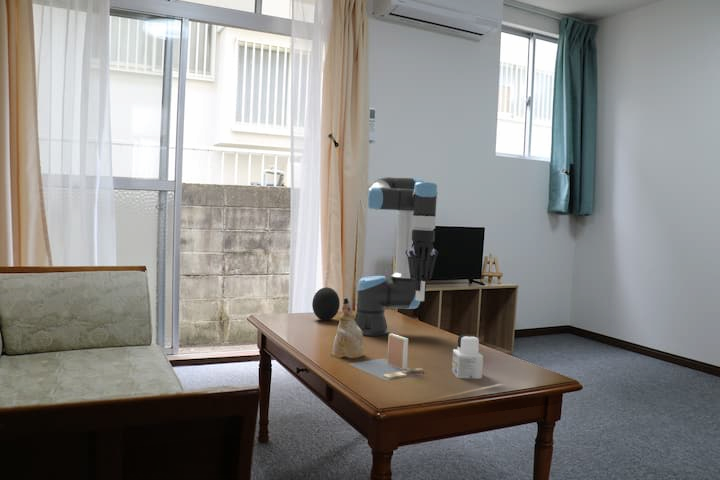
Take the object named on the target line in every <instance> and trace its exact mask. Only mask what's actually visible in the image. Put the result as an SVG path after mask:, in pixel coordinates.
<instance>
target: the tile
mask: <svg viewBox="0 0 720 480" xmlns="http://www.w3.org/2000/svg"><path fill="white" fill-rule="evenodd" d="M408 349H409V338H408V337H404V336H402V335H398V334H394V333H388V341H387V357H386V359H387V364H389V365H391V366H394V367H396V368H399V369H401V370H407V368H408V354H409V352H408Z"/></svg>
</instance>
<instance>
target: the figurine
mask: <svg viewBox="0 0 720 480" xmlns="http://www.w3.org/2000/svg"><path fill="white" fill-rule="evenodd" d="M341 310H342V313H343V314H341V315H340V316H339V323H338V325H337V329H336V330H337V331H336V335H335V337H334V338H333V345H332V353H331V355H330V356H331V357H336V358H339V359H353V358H362V357H365V354H364V350H363V349H364V347H363V342H364V335H363V333H362V331H361V329H360V328H359V327H358V325H357V324H356V322H355V316H356V314H354V313H353V312H352V311H353V306H352V304H351V303H350V301H349V298H346V297H345V298H344V299H343V304H342V305H341Z"/></svg>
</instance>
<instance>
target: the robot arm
mask: <svg viewBox="0 0 720 480" xmlns="http://www.w3.org/2000/svg"><path fill="white" fill-rule="evenodd" d="M366 195H367V208H368V209H370V210H371V209H372V210H377V211H379V210H381V211H383V210H386V211H387V210H388V211H395V212H396V214H397V231H396V246H395V247H396V249H395V251H396V252H395V267H394V268H395V270H394V272H393V273H392V274H391V276H390V277H391V279H387V277H386V276H384V275H373V276H372V275H371V276H363V277H361V278H360V279H359V280H358V283H357V289H356V291H357V296H356V297H357V299H356V314H355V318H354V319H355V322H356V324H357V325H358V327H359V328H360V329H361V331H362V333H363V336H367V337H369V336H371V337H375V336H376V337H378V336H384V335H387V334H389V333H388V331H389V330H388V329H389V326H388V324H387V319H386V316H385V309H404V310H409V309H410V310H411V309H414V310H415V309H418V307H419V306H420V304H421V302H425V293H426V292H425V291H426V290H427V282H429V281H430V280H431V279H432V277H433V272H434V268H435V266H436V265H435V264H436V260H437V257H438V255H439V253H440V252H439V250H436V249H435V248H434V245H433V244H434V243H433V242H435V238H436V236H435V235H436V233H435V232H436V231H435V229H436V221H437V220H436V214H437V199H438V197H437V196H438V185H437V183H435V182H429V181H428V182H427V181H424V180H423V179H420V178H413V177H412V178H411V177H409V178H408V177H405V178H404V177H391V176H390V177H388V176H387V177H381V178H377V179H374V180H373V181H371V182H370V183H369V185H367V189H366Z"/></svg>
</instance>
